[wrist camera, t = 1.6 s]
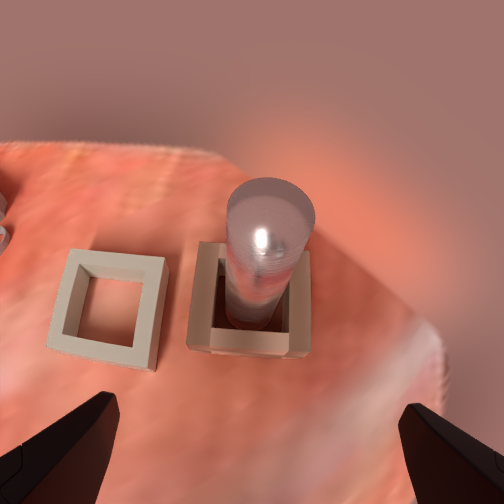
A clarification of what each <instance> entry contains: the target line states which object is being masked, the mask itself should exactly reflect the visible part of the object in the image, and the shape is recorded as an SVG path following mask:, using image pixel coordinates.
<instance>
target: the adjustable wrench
mask: <svg viewBox="0 0 504 504" xmlns="http://www.w3.org/2000/svg"><path fill="white" fill-rule="evenodd" d="M2 234H4V237H3V239H2V241H1V242H0V255H1V254H2V253H3V251H4V250H5V249H6V248H7V246H8V244H9V242H10V234H9V233H8V231H7V230H6V229H5V228H4V227H3V226H0V235H2Z"/></svg>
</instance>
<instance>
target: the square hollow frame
mask: <svg viewBox="0 0 504 504" xmlns="http://www.w3.org/2000/svg"><path fill="white" fill-rule="evenodd" d="M169 274H170V271H169V268H168V265H167V262H166V259H165V257H156V256H145V255H134V254H124V253H113V252H103V251H93V250H83V249H73V248H71V249H70V253H69V256H68V259H67V262H66V266H65V269H64V272H63V276H62V279H61V283H60V287H59V291H58V294H57V298H56V302H55V306H54V311H53V315H52V319H51V324H50V328H49V333H48V338H47V343H46V347H48V348H50V349H52V350H54V351H56V352H59V353H61V354H65V355H69V356H73V357H77V358H82V359H86V360H91V361H95V362H100V363H105V364H110V365H115V366H120V367H126V368H132V369H138V370H144V371H150V372H155V370H156V362H157V354H158V346H159V338H160V331H161V324H162V317H163V311H164V304H165V298H166V292H167V286H168V280H169ZM90 277H96V278H104V279H112V280H120V281H129V282H138V283H143V288H142V293H141V299H140V304H139V310H138V315H137V321H136V327H135V334H134V340H133V347H126V346H120V345H114V344H109V343H103V342H98V341H93V340H88V339H83V338H78V337H77V334H78V329H79V324H80V319H81V314H82V310H83V305H84V301H85V297H86V292H87V288H88V284H89V280H90Z"/></svg>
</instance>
